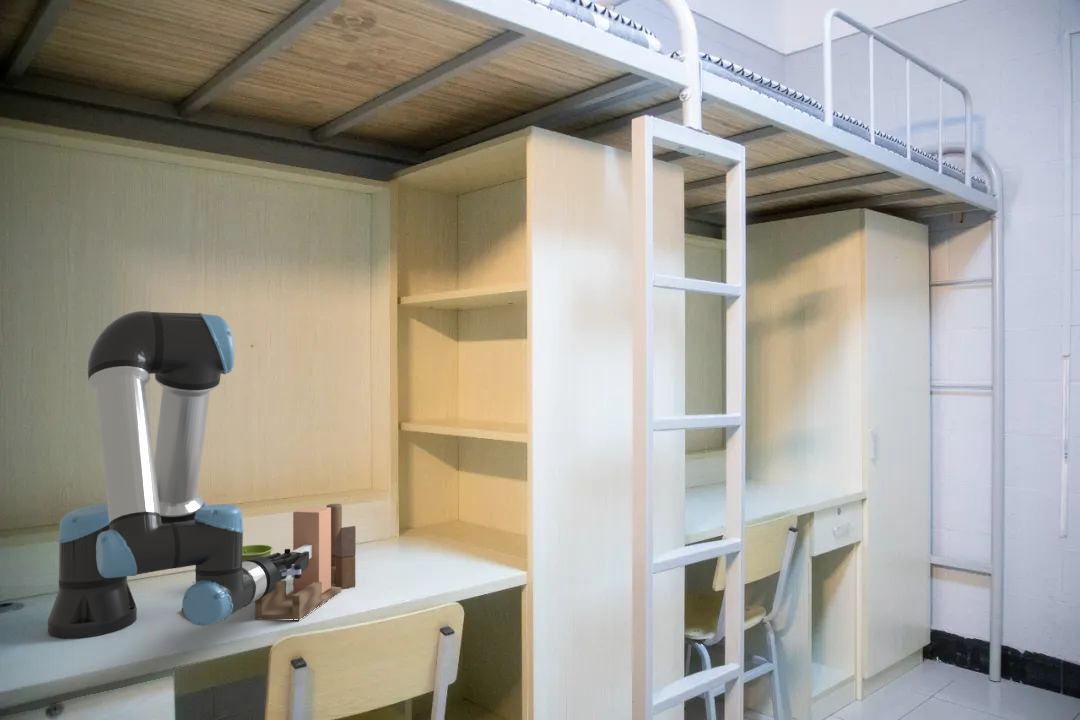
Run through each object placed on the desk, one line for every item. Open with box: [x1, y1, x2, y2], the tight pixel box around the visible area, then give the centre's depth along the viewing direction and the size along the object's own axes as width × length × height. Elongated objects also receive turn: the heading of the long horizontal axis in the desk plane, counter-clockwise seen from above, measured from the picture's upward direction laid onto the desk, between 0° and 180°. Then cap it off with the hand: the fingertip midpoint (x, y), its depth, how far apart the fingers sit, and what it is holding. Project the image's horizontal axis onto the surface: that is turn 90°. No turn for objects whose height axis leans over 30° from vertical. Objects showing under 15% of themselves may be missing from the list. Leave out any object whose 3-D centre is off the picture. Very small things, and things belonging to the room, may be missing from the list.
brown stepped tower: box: [325, 503, 357, 590], centre depth 177 cm, size 4×11×18 cm, turn 37°
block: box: [292, 506, 332, 594], centre depth 166 cm, size 6×6×18 cm
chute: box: [254, 579, 342, 621], centre depth 160 cm, size 20×10×5 cm, turn 171°
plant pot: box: [242, 544, 273, 562], centre depth 174 cm, size 9×9×9 cm
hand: (309, 550), depth 163 cm, fingers closed
